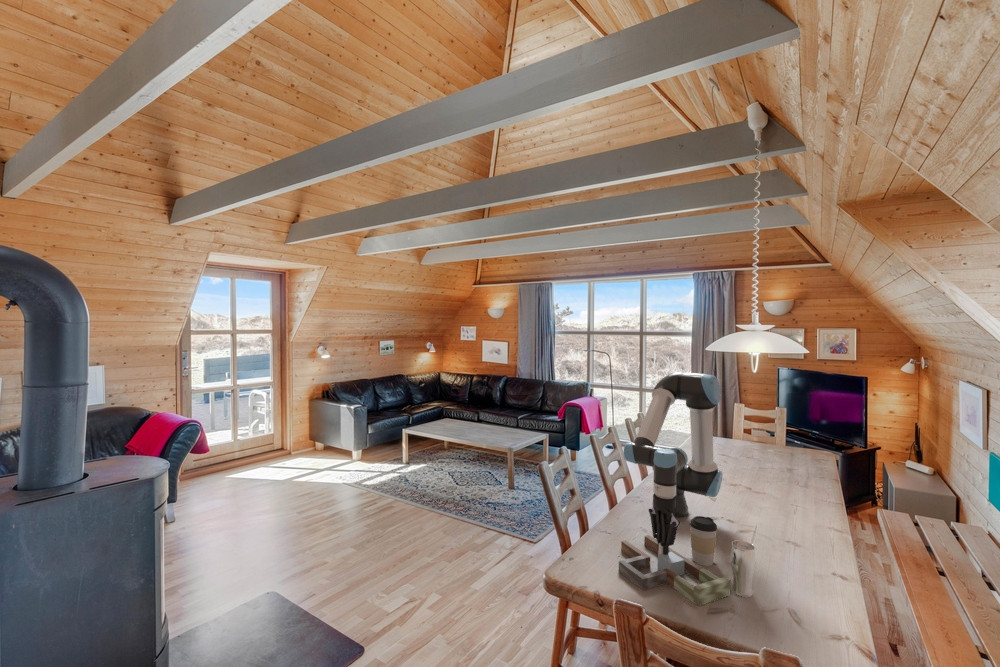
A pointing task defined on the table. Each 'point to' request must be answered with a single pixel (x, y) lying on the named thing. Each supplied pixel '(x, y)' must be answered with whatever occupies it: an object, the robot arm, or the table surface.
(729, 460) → the table surface
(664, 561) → the block
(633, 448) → the robot arm
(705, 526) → the coffee cup
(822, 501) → the table surface
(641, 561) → the corridor
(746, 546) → the beer glass
